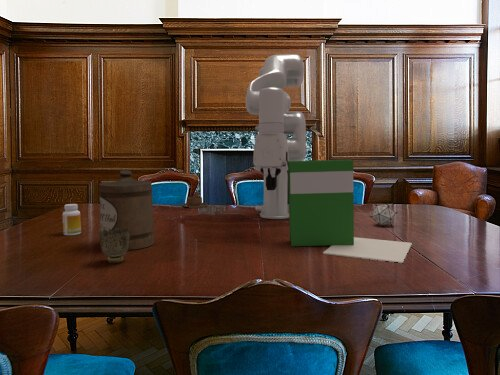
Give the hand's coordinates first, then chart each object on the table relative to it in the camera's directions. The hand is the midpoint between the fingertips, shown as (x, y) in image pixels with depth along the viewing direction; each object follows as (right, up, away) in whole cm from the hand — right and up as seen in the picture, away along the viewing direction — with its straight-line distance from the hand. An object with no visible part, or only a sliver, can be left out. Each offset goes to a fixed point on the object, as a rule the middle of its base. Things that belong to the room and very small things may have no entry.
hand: (271, 189), depth 126 cm
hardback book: (+14, -16, -6) cm, 22 cm away
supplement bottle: (-65, -15, +9) cm, 67 cm away
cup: (-40, -18, -24) cm, 50 cm away
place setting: (-31, -9, +72) cm, 79 cm away
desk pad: (+27, -16, -12) cm, 34 cm away
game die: (+41, -13, +21) cm, 48 cm away
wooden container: (-42, -16, -6) cm, 45 cm away
